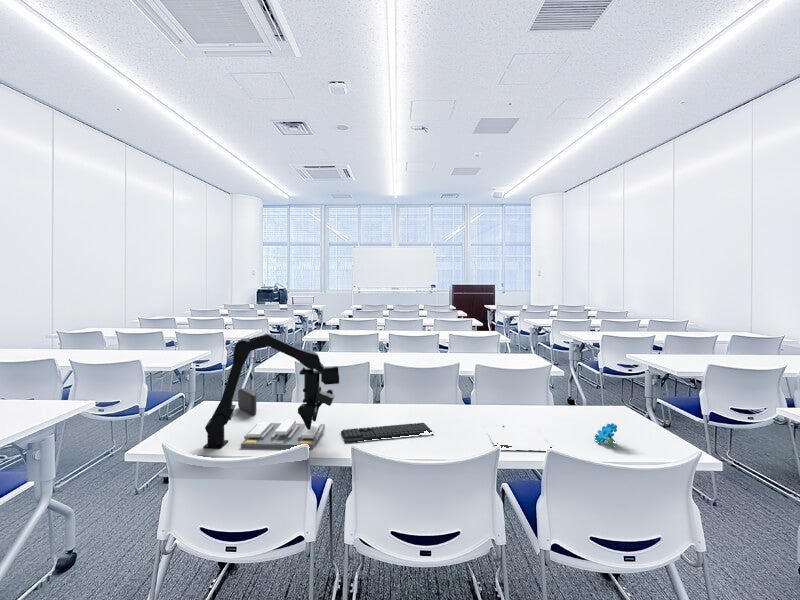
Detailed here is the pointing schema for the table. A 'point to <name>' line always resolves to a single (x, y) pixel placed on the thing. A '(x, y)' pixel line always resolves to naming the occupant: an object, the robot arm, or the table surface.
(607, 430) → the blue flower
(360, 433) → the keyboard
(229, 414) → the robot arm
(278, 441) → the switch panel
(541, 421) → the table surface
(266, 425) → the key
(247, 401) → the leaning round-cornered charcoal block
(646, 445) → the table surface
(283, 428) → the key middle
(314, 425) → the key
